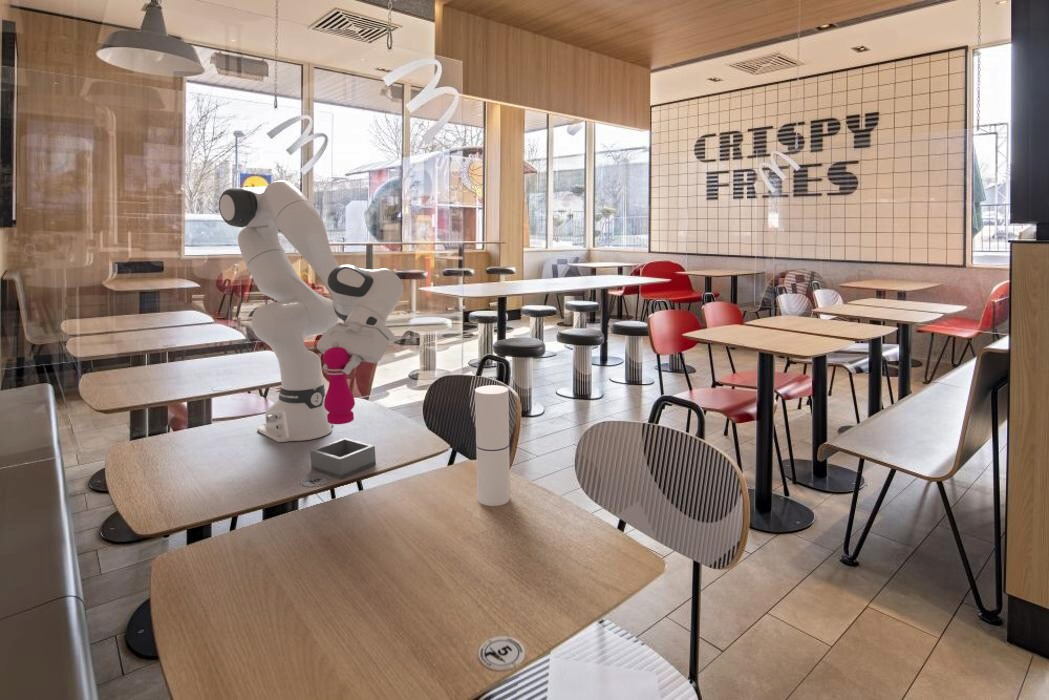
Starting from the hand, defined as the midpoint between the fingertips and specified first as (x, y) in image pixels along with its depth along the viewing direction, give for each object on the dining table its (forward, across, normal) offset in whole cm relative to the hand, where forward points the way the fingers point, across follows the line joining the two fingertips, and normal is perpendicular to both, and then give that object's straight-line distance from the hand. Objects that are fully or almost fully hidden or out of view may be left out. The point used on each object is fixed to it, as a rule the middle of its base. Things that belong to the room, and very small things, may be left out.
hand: (335, 371), depth 154 cm
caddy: (+17, 0, +18) cm, 25 cm away
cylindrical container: (+13, +42, +22) cm, 50 cm away
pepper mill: (+9, 0, +10) cm, 13 cm away
